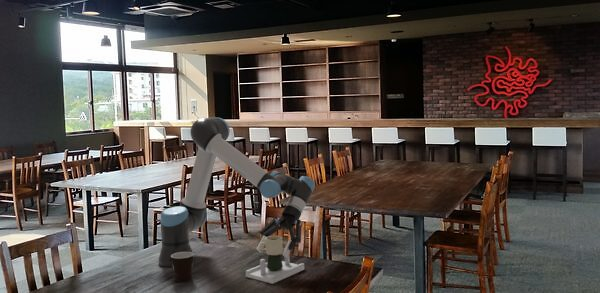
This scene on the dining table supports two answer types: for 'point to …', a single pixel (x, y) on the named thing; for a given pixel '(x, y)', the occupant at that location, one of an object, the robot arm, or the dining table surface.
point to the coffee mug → (182, 266)
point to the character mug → (274, 251)
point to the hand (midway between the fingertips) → (271, 253)
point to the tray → (274, 271)
